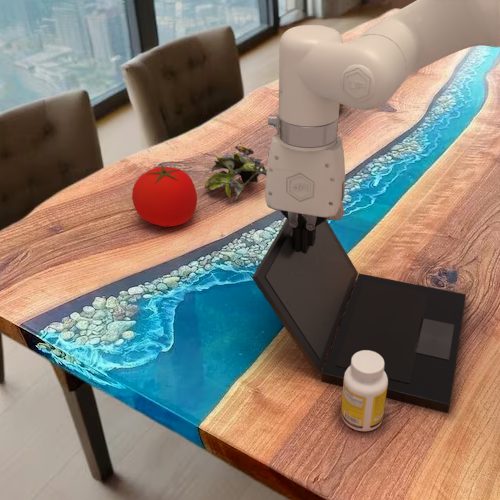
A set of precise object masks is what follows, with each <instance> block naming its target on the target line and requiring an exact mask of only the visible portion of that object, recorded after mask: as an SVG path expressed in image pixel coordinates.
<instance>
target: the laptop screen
mask: <svg viewBox="0 0 500 500" xmlns="http://www.w3.org/2000/svg"><path fill="white" fill-rule="evenodd" d="M303 217H304V218H306V220H307V219H308V215H305V214H303ZM328 221H329V220H325V221H324V222H322V223H321V224H319V225H318V226H316V238H315V243H314V246H310V247H309V249H308V251H307V253H306V254H305V253H302V252H295V243H293V242H292V229H293V227H291V226H290V224H289V220H288V219H287V218H285V221H284V223H283V224H282V226H281V228H280V230H279V231H278V233H277V234H276V236H275V238H274V239H273V241H272V243H271V244H270V246H269V248H268V250H267V251H266V253H265V255H264V256H263V258H262V259H261V261H260V263H259V265H258V267H257V268H256V269H255V271H254V272H253V274H252V276H251V279H252V281H253V282H254V283H255V285H256V287H257V288H258V289H259V291H260V292H261V294H262V295H263V297H264V298H265V300H266V301H267V303H268V304H269V306H270V308H271V309H272V310H273V312H274V313H275V314H276V316H277V318H278V319H279V321H280V322H281V324H282V326H284V328H285V330H286V331H287V333H288V334H289V337H291V339H292V340H293V342H294V343H295V345H296V346H297V348H298V349H299V351H300V352H301V354H302V355H303V357H304V359H306V361H307V362H308V364H309V366H310V368H311V369H312V370H313V372H314V373H315V374H316V375H317V374H322V371H323V368H324V365H325V363H326V360H327V357H328V355H329V352H330V349H331V347H332V344H333V341H334V339H335V336H336V334H337V331H338V328H339V326H340V323H341V320H342V318H343V315H344V312H345V310H346V307H347V304H348V302H349V299H350V296H351V294H352V291H353V288H354V286H355V283H356V280H357V278H358V275H359V272H358V270H357V268H356V267H355V265H354V264H353V261H352V260H351V258H350V256H349V255H348V253H347V251H346V250H345V248H344V246H343V245H342V243H341V242H340V240H339V238H338V236H337V235H336V233H335V231H334V229H333V228H332V226H331V224H330V223H329V222H328Z"/></svg>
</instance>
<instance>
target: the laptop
mask: <svg viewBox="0 0 500 500" xmlns="http://www.w3.org/2000/svg"><path fill="white" fill-rule="evenodd" d="M466 296H467V294H466V293H462V292H457V291H456V292H455V291H450V290H447V289H446V290H445V289H440V288H436V287H430V286H426V285H421V284H416V283H410V282H405V281H401V280H396V279H392V278H391V279H390V278H386V277H380V276H375V275H371V274H365V273H360V272H358V276H357V278H356V281H355V284H354V286H353V289H352V291H351V294H350V297H349V299H348V302H347V305H346V307H345V310H344V313H343V315H342V318H341V321H340V323H339V326H338V329H337V331H336V334H335V336H334V339H333V342H332V344H331V347H330V350H329V352H328V355H327V358H326V360H325V363H324V366H323V368H322V371H321V376H320V381H321V382H324V383H328V384H332V385H335V386H340V387H343V382H344V374H345V372H346V370H347V368H348V367H349V366H351V359H352V357H353V355H354V354H355V353H357V352H359V351H363V350H369V351H373V352H376V353H378V354H379V355H380V356H381V357H382V358H383V360H384V371H385V373H386V375H387V378H388V386H387V393H386V398H387V399H391V400H395V401H400V402H403V403H407V404H410V405H411V404H412V405H415V406H419V407H423V408H427V409H431V410H435V411H439V412H443V413H449V410H450V407H451V401H452V393H453V386H454V380H455V373H456V367H457V361H458V359H457V358H458V353H459V346H460V339H461V331H462V324H463V318H464V311H465V305H466V299H467V298H466Z"/></svg>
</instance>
